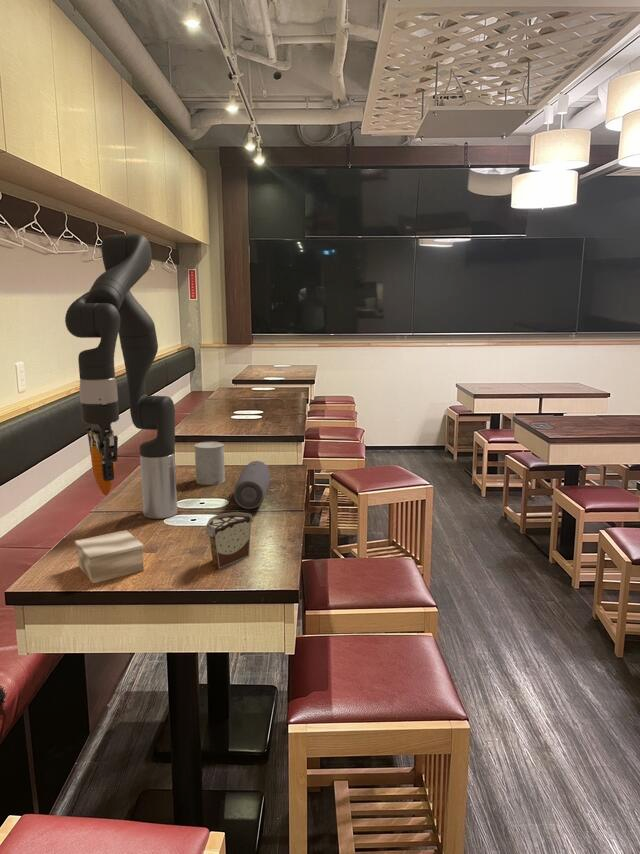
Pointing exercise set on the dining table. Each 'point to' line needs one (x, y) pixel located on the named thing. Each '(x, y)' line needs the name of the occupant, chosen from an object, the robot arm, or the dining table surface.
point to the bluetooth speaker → (252, 485)
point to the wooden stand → (110, 556)
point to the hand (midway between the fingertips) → (104, 477)
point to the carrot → (100, 470)
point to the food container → (229, 537)
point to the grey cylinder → (209, 463)
